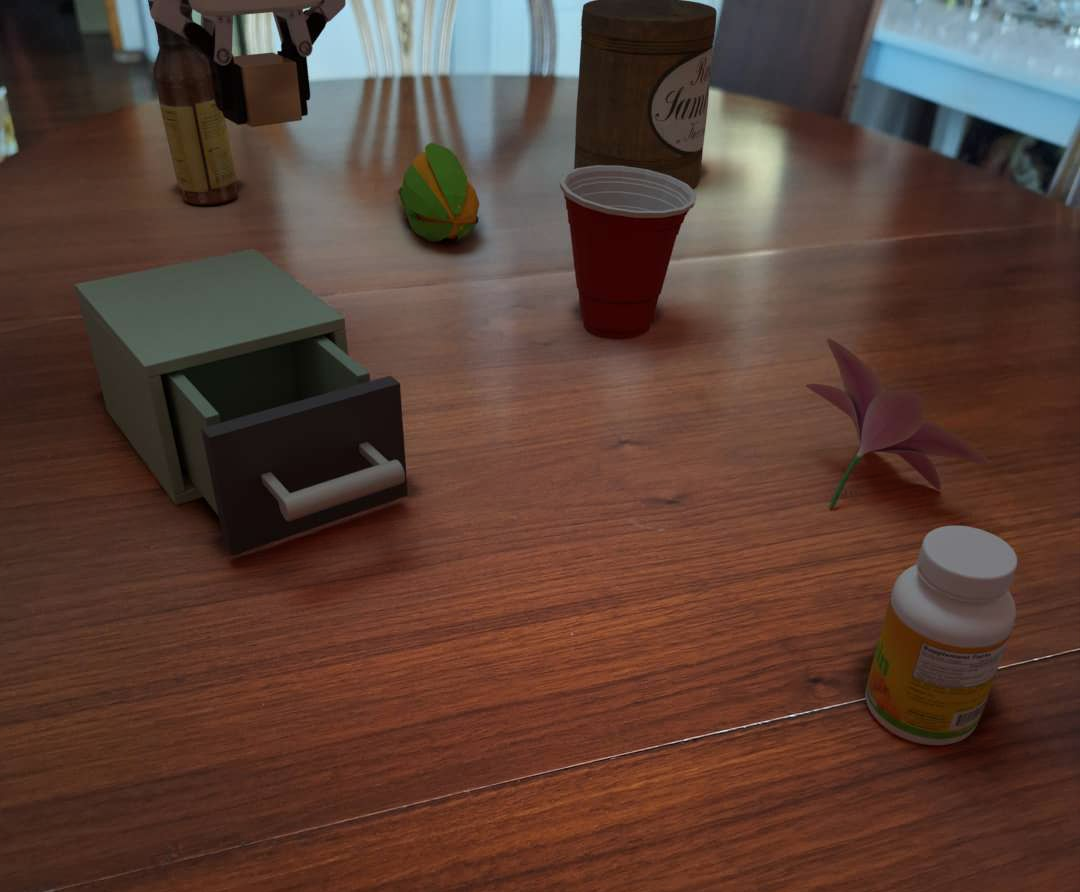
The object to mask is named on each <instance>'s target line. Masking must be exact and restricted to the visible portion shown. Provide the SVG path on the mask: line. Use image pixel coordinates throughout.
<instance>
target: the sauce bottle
mask: <svg viewBox="0 0 1080 892" xmlns="http://www.w3.org/2000/svg"><path fill="white" fill-rule="evenodd" d="M147 2H148V9H149V10H148V11H149V12H150V11H151V8H152V5H153V3H154V0H147ZM180 11H181V13H182V14H183V15H184V16H185V17H187V18H188V19H190V20H192V21H194V19H193V11H194V10H193V9H192V8H186V7H183V6H180ZM153 22H154V27H155V31H156V36H157V45H158V52H157V55H156V58H155V61H154V65H153V66H152V67H153V68H152V73H153V74H152V75H153V77H154V81H155V82H154V83H155V86H156V90H157V94H158V103H159V107H160V113H161V117H162V121H163V124H164V130H165V134H166V139H167V142H168V148H169V152H170V157H171V161H172V165H173V169H174V174H175V178H176V182H177V186H178V189H179V192H180V196H181V198H182V199H183V200H184V201H185V202H187V203H188V204H191V205H195V206H202V205H203V206H213V205H219V204H225V203H227V202H230V201H232V200H234V199H235V198H237V196H238V186H237V182H236V181H237V173H236V169H235V164H234V159H233V154H232V148H231V143H230V137H229V133H228V132H229V131H228V129H227V123H226V118H225V117H224V116H223V113H222V111H220V110H219V109H218V108H217V106H216V103H215V98H214V91H213V85H212V78H211V71H210V65H209V60H208V59H207V58H205V57H204V56H203V55H202V53H200V52H199V51H198V50H197V49H196V48H195V47H193V46H192V45H191V44H190V43H189V42H188V41H187V40H185V39H184V38H183V37H182V36H180V35H179V34H177V33H175V32H173V31H172V30H170V29H168V28H166V27H165V26H163V25H161V24H159V23H158V22H156V21H155V20H153Z"/></svg>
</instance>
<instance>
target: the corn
mask: <svg viewBox="0 0 1080 892" xmlns="http://www.w3.org/2000/svg"><path fill="white" fill-rule="evenodd" d="M398 196H399V198H400V202H401V204H402V207H403V209H404V213H405V214H406V218H407V220H408V223H409V225H410V227H411V229H412V231H413V232H414V233H415V234H416V235H417V236H420V238H421V237H422V238H423V239H425V240H427V241H428V242H430V243H433V242H435V243H436V242H442V241H443V240H444V239H448V240H449V239H450V240H452V239H453V240H455V241H456V242H457V241H459V240H460V239H462V238H464V237H465V236H467V235H469V234H470V233H471V232H472V231H473V229H474V228H475V227H476V226H477V225H478V223H479V216H478V213H479V208H480V201H479V197H478V195H477V191H476V189H475V188H474V186H472V184H471V183H470V182H469V180H468V176H467V174H466V172H465V170H464V169H463V167H462V164H461V162H460V160H459V159H458V156H457V155H456V154H455V153H454V152H452V150H451V149H450V148H447V147H445V146H444V145H443V146H442V145H440V144H438V143H435V142H430V143H428V144H426V145H425V147H424V151H421V153H419V154H418V155H417V156H416V157H414V159H413V162H412V164H411V165H410V166H408V167H407V169H406V170H405V171H404V175H403V179H402V186H401V187H399V189H398ZM416 214H417V215H418V216H417V215H416Z"/></svg>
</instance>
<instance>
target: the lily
mask: <svg viewBox="0 0 1080 892" xmlns="http://www.w3.org/2000/svg"><path fill="white" fill-rule="evenodd" d="M826 343H827V345H828V347H829V349H830V351H831V354H832V356H833V358H834V359H835V360H834V361H835V362H836V365H837V367H838V370H839V373H840V378H841V380H842V384H843V389H844V391H843V390H842V389H840V388H838V387H835V386H833V385H828V384H821V383H806V385H805V387H806V388H807V389H809V390H810V391H811V392H813V393H815V394H817V395H818V396H820V397H821V398H823V399H824V400H826V401H827V402H829V403H830V404H831V405H833V406H835V408H838V409H839V410H840V411H842V412H843V413H844V414H846V415H847V416H848V417H850V419H851V420H852V422H853V424H854V428H855V430H856V433H857V437H858V440H859V448H858V449H859V450H858V451H857V454H855V457H854V458H853V460H851V462H850V463H849V465H848V467H847V469H846V471H845V472H844V474H843V476H842V478H841V480H840V482H839V484H838V486H837V489H835V490H836V491H835V493H834V495H833V497H832V500H831V502H830V504H829V506H828V508H829V509H832V510H834V509H835V506H836V504H837V503H838V500H839V497H840V495H841V492H842V491H843V489H844V487H845V485H846V483H847V480H848V479H849V477H850V475H851V473H852V472H853V470H854V468H855V467H856V466H857V464H858V462H859V461H860V460H861V458H862V457H863V456H864V455H865V454H869V453H887V454H893V455H898V456H899V457H900V458H902V459H903V460H904V461H905V462H906V463H907V464H908V465H910V466H911V467H912V468H913V469H914V470H915V471H917V473H919V475H921V476H922V477H923V478H924V479H925V480H926V481H927V482H928V483H929V484H930V485H931V486H932V487H933V488H934V489H936V490H937V491H940V490H941V489H942V488H941V487H942V486H941V481H940V477H939V474H938V471H937V468H936V466H935V464H934V462H933V461H932V460H931V458H929V457H928V456H932V457H941V458H942V457H944V458H951V459H958V460H962V461H965V462H970V463H974V464H977V465H982V466H987V467H990V466H992V464H991V462H990V461H989V459H988V458H987V457H985V455H984V454H982V453H981V452H980V451H979V450H978V449H976V448H975V447H974V446H973V445H972V444H970V443H969V442H968V441H966V440H965V439H964V438H962V437H961V436H959V435H958V434H956V433H955V432H954V431H952V430H950V429H948V428H947V427H944V426H943V425H941V424H939V423H937V422H933V421H930V420H926V419H924V418H925V415H924V414H925V413H924V404H923V401H922V398H921V397H920V395H919V394H918V393H916V392H914V391H913V390H908V389H889V390H886V388H885V386H884V385H883V383H882V381H881V379H880V378H879V377H878V375H877V374H876V373H875V372H874V371H873V370H872V369H871V367H869V366H868V365H867V364H866V363H865V362H863V361H862V360H861V359H860V358H859V357H858V356H856V354H854V353H853V352H851V351H850V350H849V349H847V348H846V347H845V346H843V345H841V344H840V343H839V342H837V341H835V340H834V339H832V338H829V337H828V338H827V339H826Z"/></svg>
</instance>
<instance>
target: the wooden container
mask: <svg viewBox="0 0 1080 892" xmlns="http://www.w3.org/2000/svg"><path fill="white" fill-rule="evenodd" d="M717 16H718V13H717V9H716V8H715V7H713V6H711V5H709V4H705V3H703V2H702V3H701V2H698V1H692V0H591V1H588V2H586V3H584V4H583V5H582V10H581V20H580V21H581V22H580V27H581V28H580V38H581V39H580V49H579V50H580V52H579V65H578V66H579V67H578V85H577V96H576V109H575V113H576V114H575V136H574V140H575V141H574V143H575V145H574V148H575V149H574V162H573V163H574V164H573V170H574V169H576V168H582V167H589V166H596V165H602V166H626V167H633V168H640V169H647V170H651V171H654V172H658V173H661V174H665V175H669V176H671V177H673V178H675V179H678V180H680V181H682V182H684V183H686V184H688V185H689V186H690V187H691V188H692V189H693V188H694V187H696V186H697V185H698V184H699V182H700V179H701V169H702V163H703V162H702V161H703V151H704V145H705V136H706V128H707V127H706V126H707V118H708V116H707V115H708V108H709V99H710V98H709V97H710V83H711V74H712V62H713V53H714V52H713V49H714V48H713V47H714V42H715V41H714V40H715V36H716V27H717Z"/></svg>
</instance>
